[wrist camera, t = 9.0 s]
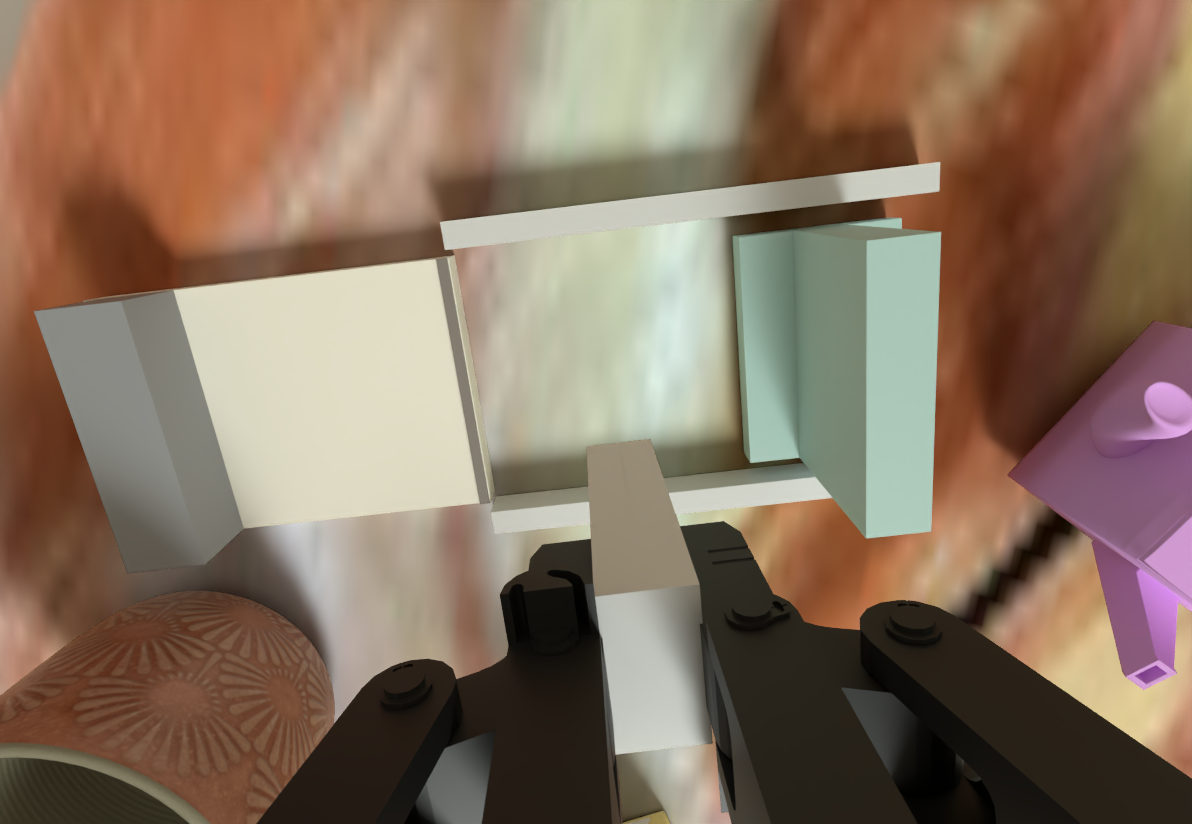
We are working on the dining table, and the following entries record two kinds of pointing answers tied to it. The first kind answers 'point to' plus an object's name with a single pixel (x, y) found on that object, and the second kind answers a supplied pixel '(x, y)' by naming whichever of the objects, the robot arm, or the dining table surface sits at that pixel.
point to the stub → (844, 362)
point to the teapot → (1130, 491)
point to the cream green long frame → (348, 388)
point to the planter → (165, 717)
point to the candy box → (650, 819)
